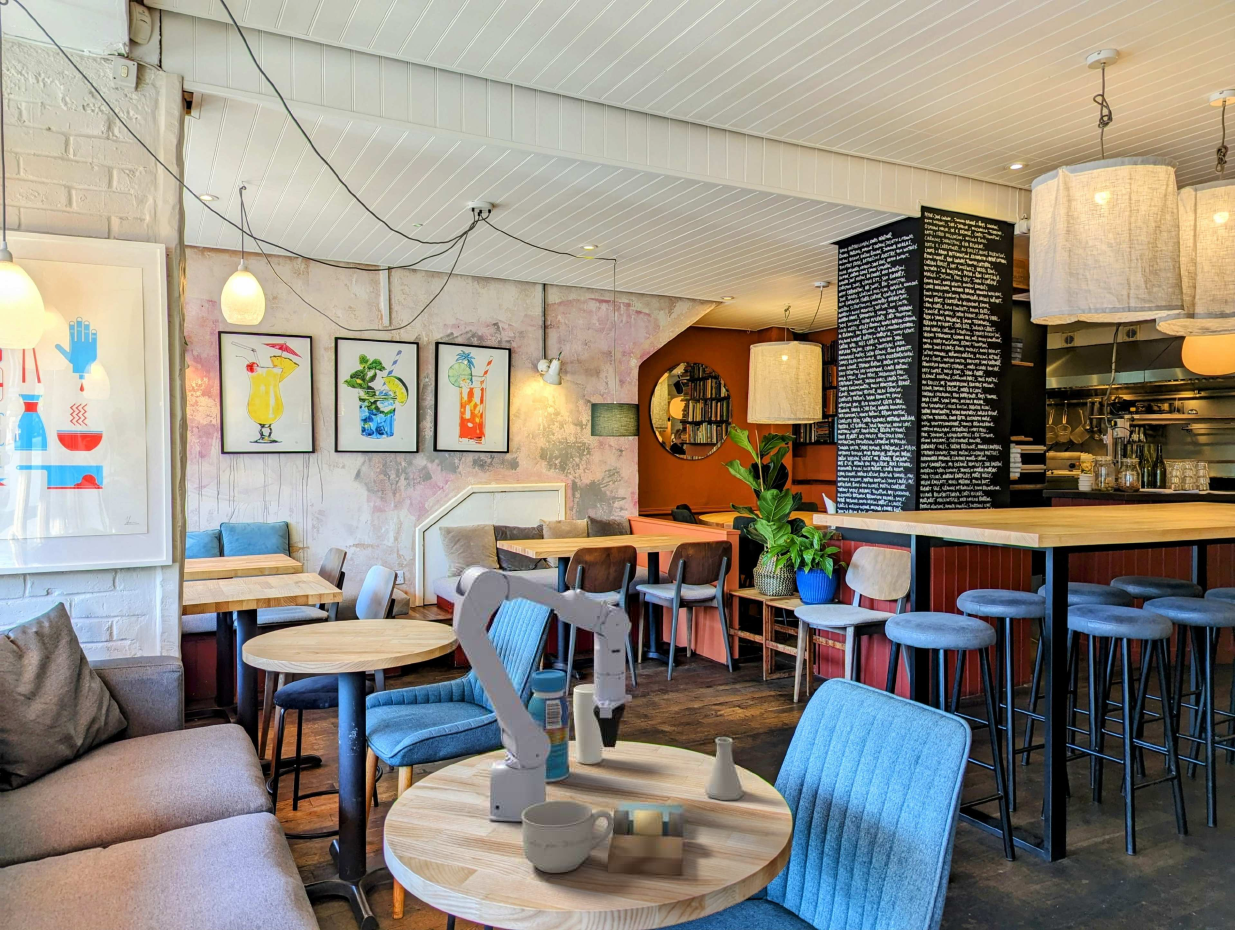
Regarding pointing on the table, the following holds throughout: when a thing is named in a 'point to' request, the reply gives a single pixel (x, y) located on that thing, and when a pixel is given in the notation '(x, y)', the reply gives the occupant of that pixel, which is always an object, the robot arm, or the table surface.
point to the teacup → (561, 834)
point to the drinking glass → (586, 726)
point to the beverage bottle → (552, 719)
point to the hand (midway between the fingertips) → (609, 746)
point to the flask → (724, 774)
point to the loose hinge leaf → (649, 818)
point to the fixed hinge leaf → (646, 848)
